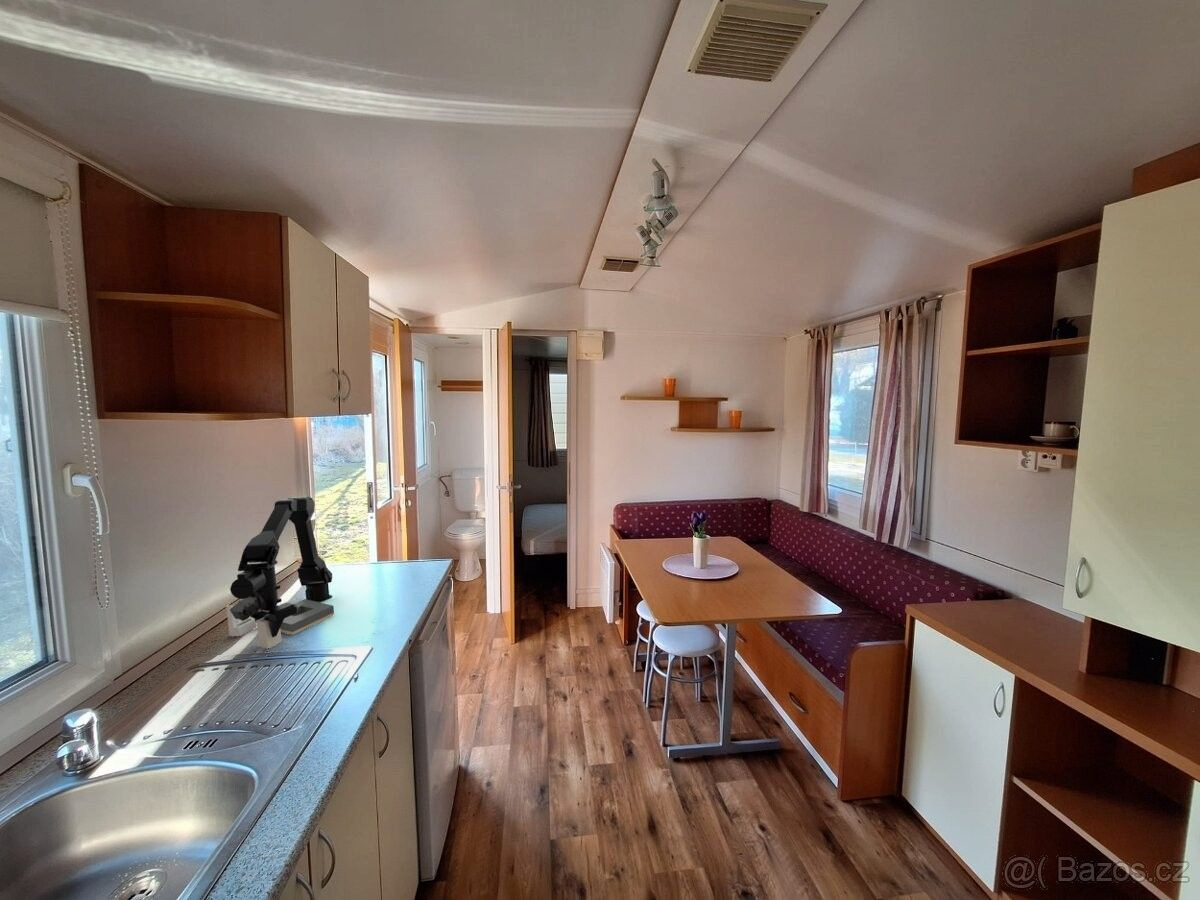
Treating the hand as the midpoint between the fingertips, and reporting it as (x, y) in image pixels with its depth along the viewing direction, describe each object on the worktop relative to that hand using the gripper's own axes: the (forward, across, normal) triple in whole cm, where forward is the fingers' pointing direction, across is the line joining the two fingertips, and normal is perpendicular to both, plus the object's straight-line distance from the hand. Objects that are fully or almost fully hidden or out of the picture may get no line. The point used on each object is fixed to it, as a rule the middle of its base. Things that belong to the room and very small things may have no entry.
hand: (269, 635), depth 138 cm
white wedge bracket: (+3, -16, +2) cm, 16 cm away
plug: (+3, 0, 0) cm, 3 cm away
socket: (+3, -6, +13) cm, 15 cm away
